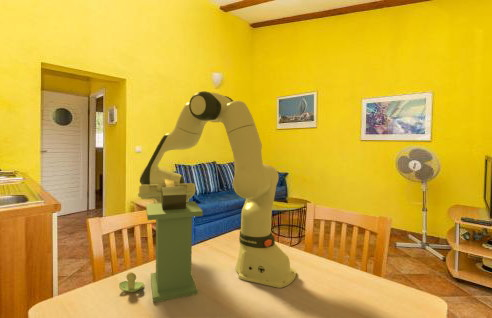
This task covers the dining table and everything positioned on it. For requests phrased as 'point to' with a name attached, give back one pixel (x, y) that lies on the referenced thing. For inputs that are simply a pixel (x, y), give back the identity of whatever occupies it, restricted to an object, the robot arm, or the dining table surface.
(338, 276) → the dining table surface
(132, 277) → the pacifier
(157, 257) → the stand
